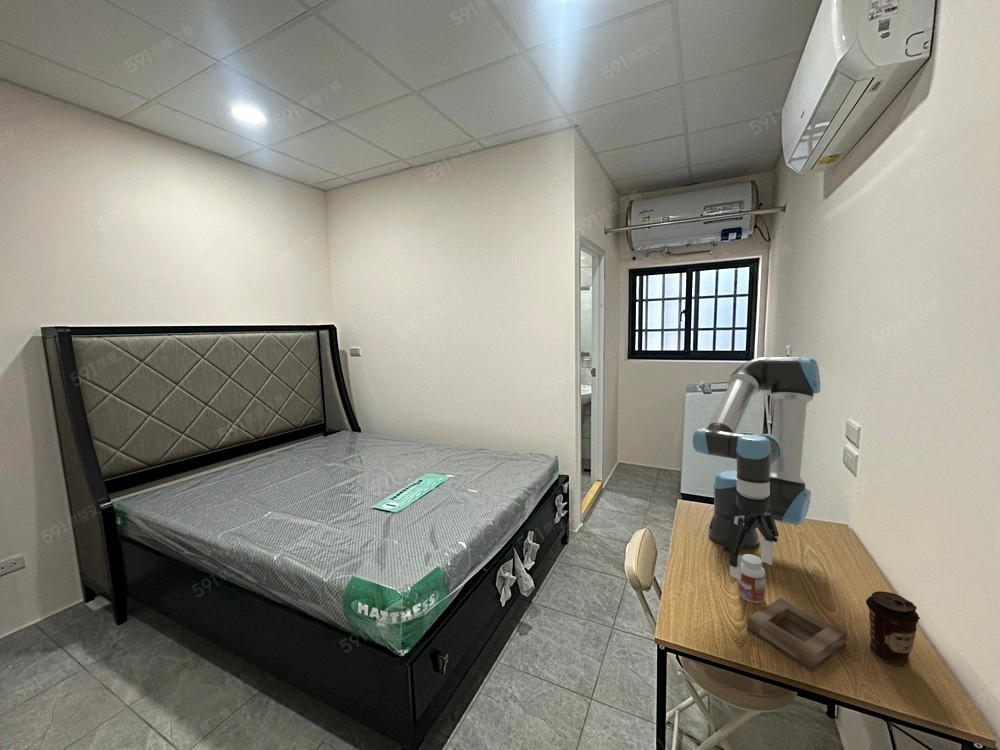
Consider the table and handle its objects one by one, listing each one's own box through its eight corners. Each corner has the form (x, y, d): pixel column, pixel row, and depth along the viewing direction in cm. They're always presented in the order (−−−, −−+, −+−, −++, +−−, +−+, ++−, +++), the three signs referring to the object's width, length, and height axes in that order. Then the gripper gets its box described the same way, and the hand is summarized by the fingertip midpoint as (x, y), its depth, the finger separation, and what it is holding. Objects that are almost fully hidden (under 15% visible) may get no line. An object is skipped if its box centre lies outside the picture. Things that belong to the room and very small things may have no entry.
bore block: (780, 610, 105) (781, 597, 105) (845, 646, 93) (846, 632, 92) (747, 630, 99) (747, 617, 99) (811, 671, 87) (812, 656, 86)
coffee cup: (928, 665, 87) (931, 609, 85) (901, 676, 84) (904, 618, 83) (880, 637, 95) (882, 585, 94) (854, 646, 93) (857, 593, 91)
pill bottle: (733, 591, 114) (733, 554, 113) (752, 588, 115) (752, 551, 114) (750, 606, 108) (750, 566, 106) (770, 602, 109) (771, 563, 107)
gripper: (766, 480, 117) (764, 551, 119) (708, 499, 106) (708, 576, 108) (794, 488, 110) (792, 563, 112) (736, 509, 99) (735, 591, 101)
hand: (751, 569), depth 110 cm, fingers open, 13 cm apart
